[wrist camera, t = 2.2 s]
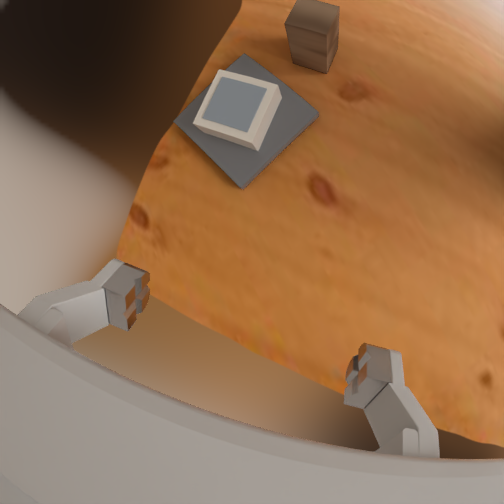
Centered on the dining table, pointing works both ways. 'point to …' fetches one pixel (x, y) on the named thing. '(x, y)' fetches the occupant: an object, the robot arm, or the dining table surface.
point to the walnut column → (313, 34)
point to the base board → (245, 119)
